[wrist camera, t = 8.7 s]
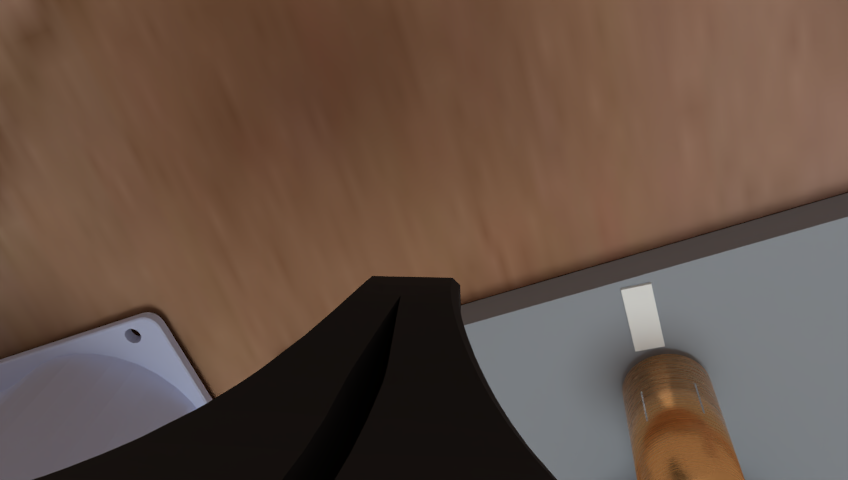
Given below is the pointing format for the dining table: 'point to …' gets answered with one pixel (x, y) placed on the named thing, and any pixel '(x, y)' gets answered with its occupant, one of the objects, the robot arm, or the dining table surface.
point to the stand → (685, 346)
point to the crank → (677, 422)
